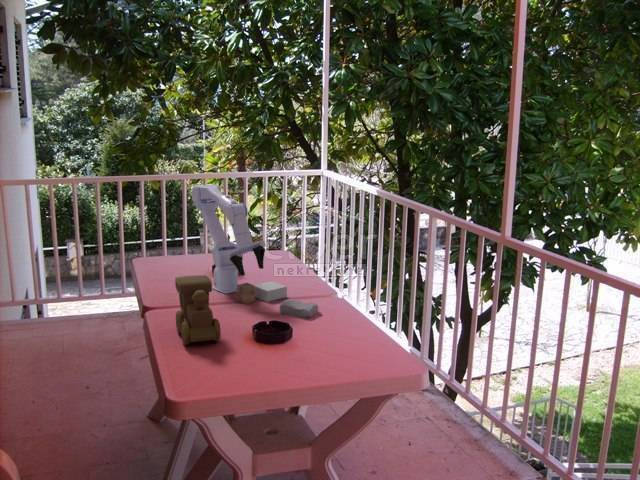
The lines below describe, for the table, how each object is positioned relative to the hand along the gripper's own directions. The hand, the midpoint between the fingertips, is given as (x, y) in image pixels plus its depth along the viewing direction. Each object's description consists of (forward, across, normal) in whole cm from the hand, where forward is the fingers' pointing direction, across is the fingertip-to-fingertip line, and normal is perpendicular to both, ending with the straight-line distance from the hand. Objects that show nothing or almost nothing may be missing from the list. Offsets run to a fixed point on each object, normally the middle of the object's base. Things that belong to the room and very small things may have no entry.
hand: (252, 271), depth 233 cm
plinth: (+8, -2, +12) cm, 15 cm away
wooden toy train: (+20, -8, -31) cm, 38 cm away
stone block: (+19, +12, +2) cm, 23 cm away
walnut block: (+8, -7, +4) cm, 12 cm away
